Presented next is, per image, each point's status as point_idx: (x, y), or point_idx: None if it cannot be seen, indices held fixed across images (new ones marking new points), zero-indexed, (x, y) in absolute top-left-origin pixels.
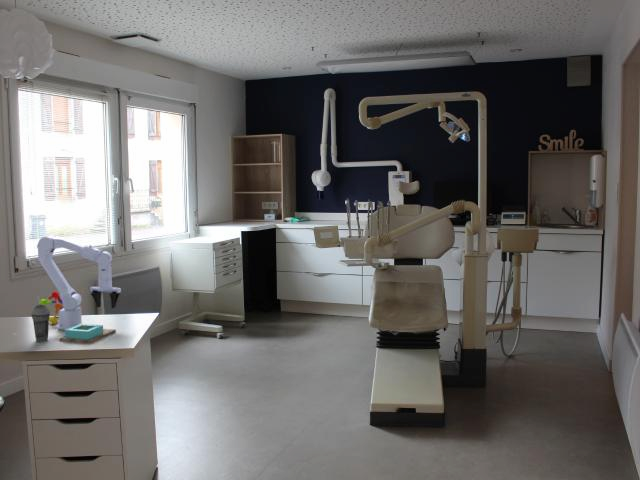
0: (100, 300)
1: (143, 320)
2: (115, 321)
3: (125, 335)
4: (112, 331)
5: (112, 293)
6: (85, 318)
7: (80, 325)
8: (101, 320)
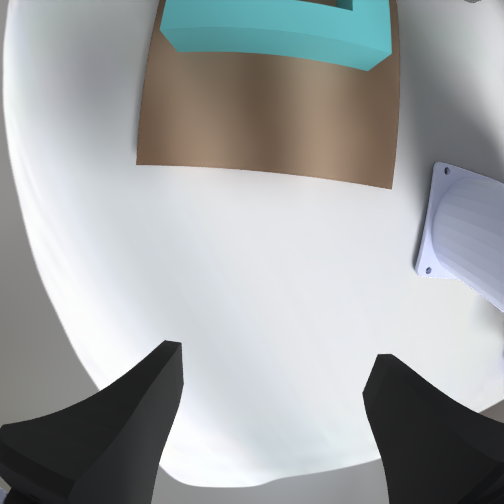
0: (382, 449)
1: None
2: (284, 403)
3: (61, 112)
4: (140, 120)
5: (39, 496)
6: None
7: (358, 2)
8: None
